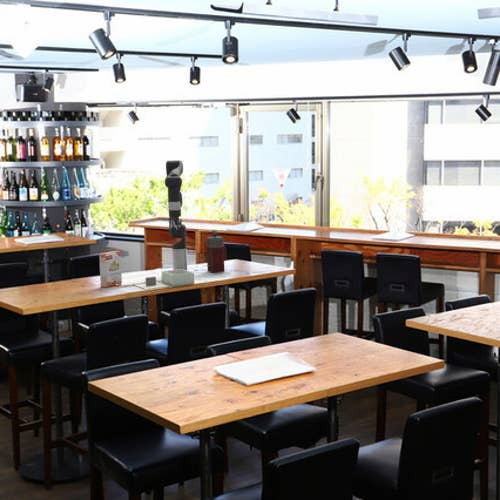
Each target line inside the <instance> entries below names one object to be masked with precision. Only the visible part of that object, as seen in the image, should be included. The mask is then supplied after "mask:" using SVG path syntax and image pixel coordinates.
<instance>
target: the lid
mask: <svg viewBox="0 0 500 500" xmlns="http://www.w3.org/2000/svg"><path fill="white" fill-rule="evenodd" d="M134 285H135V286H134V287H137V286H138V287H137V288H139V287H141V288H140V289H142V288H143V289H142V290H144V289H149V290H156V289H165V288H169V286H170V285H168V284H165V283H162V282H158V281H157V276H149V277H145V283H136V284H134Z"/></svg>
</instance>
